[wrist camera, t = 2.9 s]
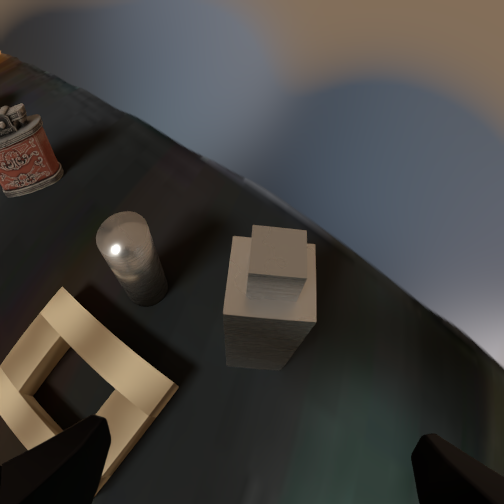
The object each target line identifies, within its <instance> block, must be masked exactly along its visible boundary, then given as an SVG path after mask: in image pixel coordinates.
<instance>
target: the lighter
mask: <svg viewBox="0 0 504 504" xmlns="http://www.w3.org/2000/svg"><path fill="white" fill-rule="evenodd" d="M42 124H43V122H42V120H41V117H40V115H38V114H37V115H32V116H28V117H27V115H26V110H25V108H24V105H23V104H19V105H16V106H14V107H12V108H10V107H9V106H3V107H1V109H0V184H1V186H2V187H3V192H4V193H5V195H6V196H7V197H15V196H21V195H24V194H28V193H32V192H34V191H37V190H40V189H42V188H45V187H47V186H49V185H51V184H54V183H55V182H57V181H58V180H59V179H60V178H61V177H62V175H63V168H62V166H61V164H60V163H59V162H58V161H57V159H56V157H55V155H54V152H53V150H52V148H51V146H50V143H49V141H48V139H47V136H46V134H45V132H44V129H43V127H42Z"/></svg>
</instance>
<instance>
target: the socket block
mask: <svg viewBox="0 0 504 504" xmlns="http://www.w3.org/2000/svg"><path fill="white" fill-rule="evenodd" d="M70 347H72V348H73V349H74V350H75V351H76V352H77V353H78V354H79V355H80V356H81V357H82V358H83V359H84V360H85V361H86V362H87V363H88V364H89V365H90V366H91V367H92V368H93V369H94V370H95V371H96V372H98V373H99V374H100V375H101V376H102V377H103V378H104V379H105V380H106V381H107V382H109V383H110V384H111V385H112V386H113V387H114V388H115V390H114V392H113V393H112V394H111V395H110V397H109V398H108V399H107V401H106V402H105V403H104V405H103V406H102V407H101V408H100V410H99V411H98V412H97V414H96V415H98V416H102V417H104V418H106V419H107V422H108V426H109V430H110V434H111V445H110V449H109V452H108V456H107V459H106V462H105V466H104V470H103V473H102V477H101V480H100V484H99V487H98V489H97V492H96V494H97V493H98V492H99V490H100V489H101V488H102V487H103V485H104V484H105V483H106V482H107V480H108V479H109V478H110V476H111V475H112V474H113V473H114V471H115V470H116V469H117V468H118V466H119V465H120V464H121V462H122V461H123V460H124V459H125V457H126V456H127V455H128V453H129V452H130V451H131V450H132V448H133V447H134V446H135V444H136V443H137V442H138V441H139V439H140V438H141V437H142V435H143V434H144V433H145V431H146V430H147V429H148V427H149V426H150V425H151V424H152V422H153V421H154V420H155V418H156V417H157V416H158V414H159V413H160V412H161V410H162V409H163V408H164V407H165V405H166V404H167V403H168V401H169V400H170V399H171V397H172V396H173V395H174V393H175V392H176V391H177V389H178V388H179V386H177V385H176V384H175V383H174V382H173V381H171V380H170V379H168V378H167V377H166V376H164V375H163V374H162V373H160V372H159V371H158V370H157V369H155V368H154V367H153V366H151V365H150V364H149V363H148V362H146V361H145V360H144V359H142V358H141V357H140V356H139V355H138V354H136V353H135V352H134V351H133V350H131V349H130V348H129V347H128V346H127V345H125V344H124V343H123V342H122V341H121V340H119V339H118V338H117V337H116V336H115V335H114V334H112V333H111V332H110V331H109V330H108V329H107V328H106V327H104V326H103V325H102V324H101V323H100V322H99V321H98V320H97V319H96V318H94V317H93V316H92V315H91V314H90V313H89V312H88V311H87V310H86V309H85V308H84V307H83V306H82V305H81V304H79V303H78V302H77V301H76V300H75V299H74V298H73V297H72V296H71V295H70V294H69V293H68V292H67V291H66V290H65V289H64V288H63V287H61V288H60V290H59V291H58V292H57V293H56V294H55V296H54V297H53V298H52V299H51V300H50V301H49V303H48V304H47V305H46V306H45V308H44V309H43V310H42V311H41V312H40V314H39V315H38V316H37V317H36V319H35V320H34V321H33V322H32V324H31V325H30V326H29V328H28V329H27V330H26V331H25V333H24V334H23V335H22V337H21V338H20V339H19V341H18V342H17V343H16V345H15V346H14V347H13V349H12V350H11V351H10V353H9V354H8V355H7V357H6V358H5V360H4V361H3V362H2V364H1V365H0V415H1V416H2V418H3V419H4V421H5V422H6V423H7V425H8V426H9V427H10V429H11V430H12V431H13V432H14V434H15V435H16V436H17V437H18V439H19V440H20V441H21V442H22V444H23V445H24V446H25V447H26V448H27V450H30V449H32V448H33V447H35V446H37V445H39V444H41V443H43V442H44V441H46V440H48V439H50V438H52V437H53V436H55V435H57V434H59V433H61V432H62V431H63V430H62V429H61V428H60V427H59V426H58V424H57V423H56V422H55V421H54V420H53V419H52V418H51V417H50V416H49V415H48V414H47V412H46V411H45V410H44V409H43V408H42V407H41V406H40V404H39V403H38V402H37V401H36V400H35V398H34V397H33V395H34V394H35V393H36V391H37V390H38V389H39V387H40V386H41V384H42V383H43V382H44V380H45V379H46V378H47V376H48V375H49V374H50V372H51V371H52V370H53V368H54V367H55V366H56V365H57V363H58V362H59V361H60V359H61V358H62V357H63V355H64V354H65V353H66V352H67V350H68V349H69V348H70ZM96 494H95V495H96ZM94 497H95V496H94Z"/></svg>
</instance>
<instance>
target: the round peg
mask: <svg viewBox="0 0 504 504" xmlns="http://www.w3.org/2000/svg"><path fill="white" fill-rule="evenodd" d="M96 243H97V246H98V248H99V250H100V252H101V253H102V255H103V257H104V258H105V260H106V262H107V263H108V265H109V266H110V268H111V270H112V271H113V273H114V274H115V276H116V278H117V279H118V281H119V282H120V284H121V285H122V287H123V288H124V290H125V291H126V293H127V295H128V296H129V298H130V299H131V300H132V301H133V302H134V303H135V304H137V305H139V306H143V307H149V306H153V305H155V304H157V303H159V302H160V301H161V300H162V299H163V298H164V297H165V295H166V293H167V289H168V282H167V279H166V276H165V274H164V271H163V268H162V265H161V263H160V260H159V257H158V254H157V252H156V249H155V246H154V243H153V240H152V237H151V234H150V231H149V228H148V225H147V223H146V221H145V219H144V218H143V217H142V216H141V215H139V214H137V213H135V212H120V213H117V214H114V215H112V216H110V217H109V218H108V219H106V220H105V221H104V222H103V223H102V225H101V226H100V228H99V229H98V232H97V236H96Z"/></svg>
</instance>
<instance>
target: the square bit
mask: <svg viewBox="0 0 504 504" xmlns="http://www.w3.org/2000/svg"><path fill="white" fill-rule="evenodd" d="M223 322H224V335H225V349H226V361H227V366H230V367H240V368H251V369H263V370H277V371H281V369H282V368H283V367H284V365H285V364H286V363H287V361H288V360H289V359H290V357H291V356H292V355H293V353H294V352H295V351H296V349H297V348H298V347H299V345H300V344H301V343H302V341H303V340H304V339H305V337H306V336H307V334H308V333H309V332H310V330H311V329H312V328H313V326H314V325H315V323H316V256H315V244H307V231H306V230H296V229H287V228H277V227H268V226H258V225H253V230H252V238H248V237H238V236H233V241H232V248H231V256H230V263H229V271H228V279H227V286H226V294H225V302H224V310H223Z"/></svg>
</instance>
